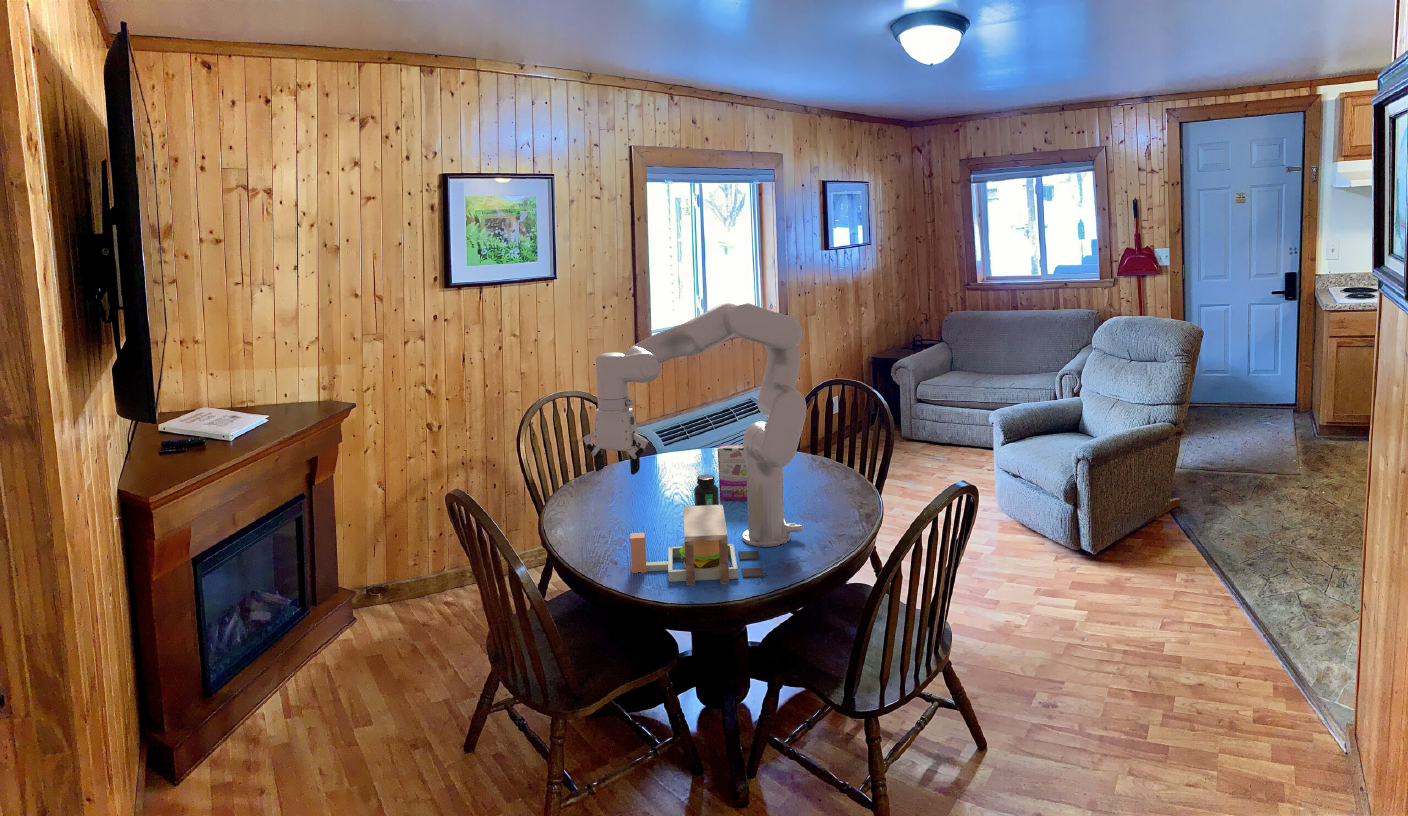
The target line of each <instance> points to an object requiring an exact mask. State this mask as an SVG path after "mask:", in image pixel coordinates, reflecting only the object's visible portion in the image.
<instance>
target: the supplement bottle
mask: <svg viewBox="0 0 1408 816" xmlns="http://www.w3.org/2000/svg"><path fill="white" fill-rule="evenodd" d="M696 480H697V481H696V484H697V485H696V486H695V487H694V490H693V491H694V492H693V494H694V495H693V496H694V497H693V498H694V506H705V505H720V493H719V487H718V485H716V484H715V483H716V482H715V476H714V475H713V474H701V475H697V478H696Z"/></svg>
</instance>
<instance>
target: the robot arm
mask: <svg viewBox="0 0 1408 816" xmlns="http://www.w3.org/2000/svg"><path fill="white" fill-rule="evenodd" d="M733 337H737V338H738V337H739V338H740V339H741V338H742V339H744V340H747V341H750V342H753V343H757V344H760V345H763V346H764V348H765V351H766V358H767V359H766V365H765V370H764V374H763V379H762V382H761V385H760V389H759V392H758V396H757V409H758V410H759V411H760V413H761V414H762V415H763V416H764V417H767V418H768V420H767V421H762V420H760V421H755V422H752V424H749V426H748V427H747V428H746V429H745V432H744V434H743V439H742V445H743V448H744V455H745V461H746V471H747V501H746V502H747V505H746V506H747V529H746V530H745V531H744V532H743V533H742V536H741V537H742V541H744V542H745V544H748V545H750V546H754V547H760V548H761V547H763V548H766V547H768V548H771V547H777V546H780V544H782V545H784V544H786V543H788V542H790V539H791V533H802V532H803V525H802V524H797V523H796V522H791V523H789V522H786V520H785V508H784V505H785V504H784V469H783V468H784V467H787V465H789V464H790V462H792V460H793V459H794V458H795V456H796V453H797V450H798V446H799V443H800V440H801V436H802V432H803V430H804V429H803V428H804V424H805V421H806V418H807V410H808V409H807V402H806V398H805V397H804V395H803V394H802V393H801V392H800V391H799V390H797V382H798V378H799V373H800V369H801V357H802V356H801V351H800V347H799V344H800V342H801V340H802V339H803V328H802V326H801V324H800V322H799V321H798V320H797V319H796V318H794V317H793V316H791V315H786V314H783V313H781V312H778V311H773V310H769V309H766V308H763V307H760V306H757V305H755V304H752V303H749V302H746V301H743V300H742V301H741V300H738V299H731V300H727V301H725V302H722V303H721V304H718V305H716V306H714V307H712V308H711V309H709V310H707V311H705V312H704V313H702V314H700V315H698V316H696V317H694V318H692V319H690V320H688V321H686V322H684V323H682V324H679V325H676V326H673V327H670V328H669V329H665V330H662V331H660V332H657V333H656V334H653V335H650V336H648V337H646V338H645V339H643V340H641V341H639V342H637V343H635V344H634V345H632V346H630V347H629V348H628V349H627V350H625V352H624V353H622V352H616V351H615V352H613V351H612V352H604V353H601V354H598V355H597V356H596V358H595V373H596V390H597V391H596V393H597V394H596V395H597V408H596V409H595V414H594V421H593V422H594V427H593V431H592V432H591V433H588V434H586V435H585V436H583V437H582V440H583V442H584V443H585V446H586V448H587V450H588V451H590V453H591V456H592V457H593V466H594V468H595V472H600V471H602V470H603V469H604V466H605V465H604V454H603V452H602V451H603V450H606V451H607V450H608V451H617V452H618V451H620V452H621V451H623V452H627V453H628V455H630V457H631V458H630V459H629V464H630V474H631V475H636V474H637V473H638V472H639V471H640V468H641V464H640V463H641V462H640V457H641V456H642V455H643V453H645V451H646V450H647V447H648V444H649V440H648V439H646V438H645V437H643V436H641V435H640V434H638V427H637V420H636V417H635V413H634V410H633V408H631V407H633V406H634V405H635V401H634V400H633V399H630V396H629V394H630V393H629V383H639V384H647V383H648V384H649V383H651V382H653V381H655V380H657V378H658V377H660V375H661V373H662V363H665V362H666V361H669V360H673V359H675V358H676V359H677V358H680V357H681V358H682V357H692V356H697V355H700V354H703V353H705V352H707V351H708V350H711V349H712V348H715V347H717V346H718V345H720V344H722V343H723V342H726V341H727V340H729V339H731V338H733ZM593 438H594V440H593V441H594V442H593V441H592V439H593ZM639 444H640V446H639ZM637 446H639V447H637ZM787 541H788V542H787ZM783 543H784V544H783Z"/></svg>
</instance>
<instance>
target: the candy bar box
mask: <svg viewBox="0 0 1408 816" xmlns="http://www.w3.org/2000/svg"><path fill="white" fill-rule="evenodd" d="M717 460H718V461H717V465H718V466H717V467H718V486H719V487H718V492H719V502H720V501H721V502H747V471H746V461H745V455H744V448H743V444H719V447H717Z"/></svg>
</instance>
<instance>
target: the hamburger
mask: <svg viewBox="0 0 1408 816" xmlns="http://www.w3.org/2000/svg"><path fill="white" fill-rule="evenodd" d="M682 546H683V547H680V550H679V553H680V554H681V557H680V559H681V560H683V567H684V568H685V569H686V560H685V541H684V542H683V544H682ZM693 546H694V569H704V568H720V562H719V540H708V541H693Z"/></svg>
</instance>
